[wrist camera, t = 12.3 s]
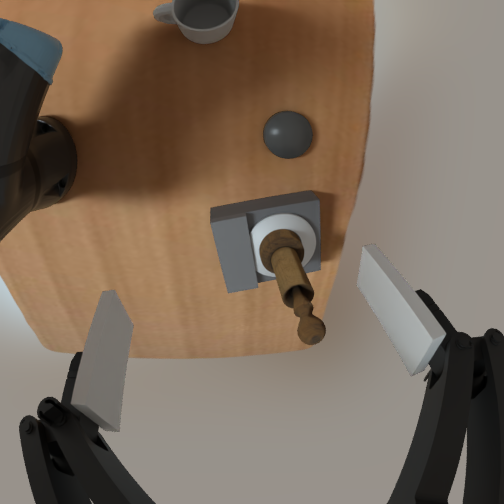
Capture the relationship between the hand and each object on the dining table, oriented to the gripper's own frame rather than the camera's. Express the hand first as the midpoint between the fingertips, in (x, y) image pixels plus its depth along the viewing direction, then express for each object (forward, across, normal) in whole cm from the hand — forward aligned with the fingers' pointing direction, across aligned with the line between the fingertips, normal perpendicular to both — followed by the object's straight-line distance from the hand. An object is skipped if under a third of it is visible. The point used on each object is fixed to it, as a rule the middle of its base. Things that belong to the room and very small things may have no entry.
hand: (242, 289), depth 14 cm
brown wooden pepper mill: (+24, +7, -14) cm, 29 cm away
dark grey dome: (+29, +10, +2) cm, 31 cm away
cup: (+30, 0, +20) cm, 36 cm away
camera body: (+29, +6, -15) cm, 33 cm away
